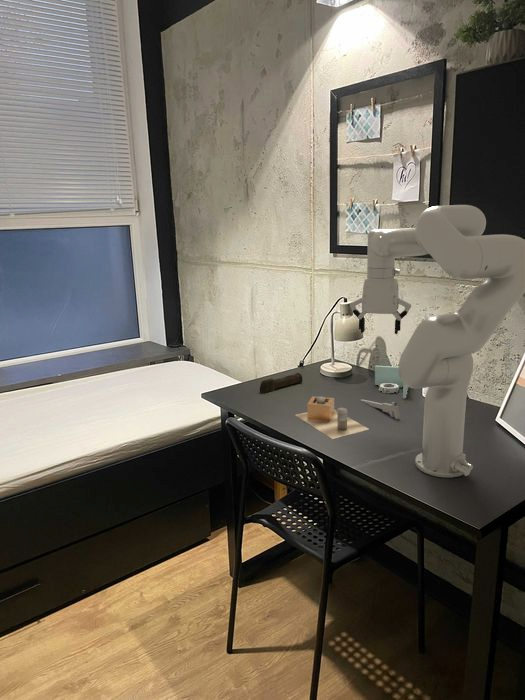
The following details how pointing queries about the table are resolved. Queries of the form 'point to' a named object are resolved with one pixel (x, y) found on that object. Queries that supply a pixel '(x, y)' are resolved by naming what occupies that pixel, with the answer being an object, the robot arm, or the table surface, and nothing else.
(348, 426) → the board
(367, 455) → the table surface
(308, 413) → the collar
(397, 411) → the caliper
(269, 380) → the hand tool
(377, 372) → the l-shaped corner panel
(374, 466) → the table surface
